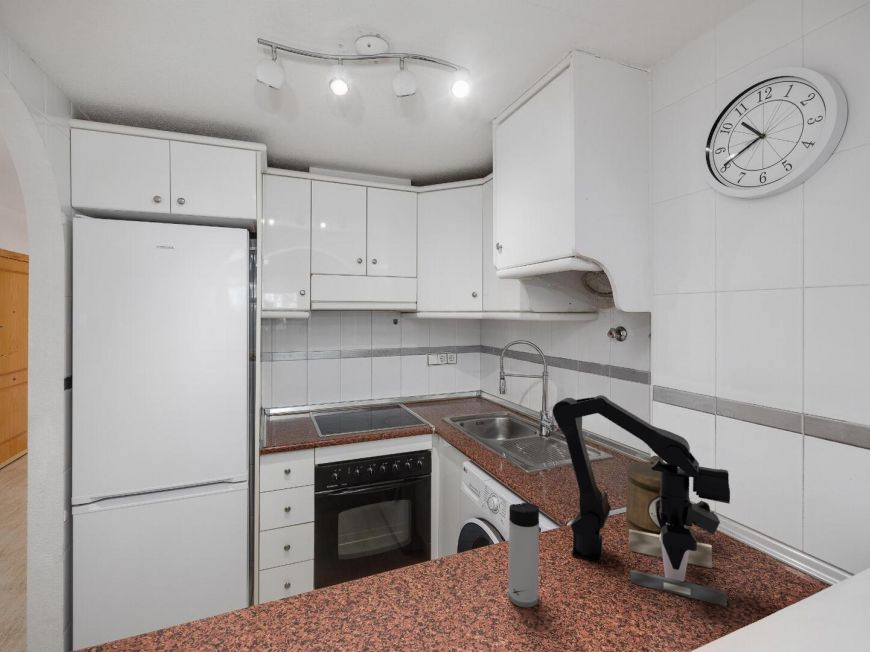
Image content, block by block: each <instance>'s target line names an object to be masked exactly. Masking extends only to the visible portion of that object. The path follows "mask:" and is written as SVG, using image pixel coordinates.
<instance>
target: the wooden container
mask: <svg viewBox="0 0 870 652" xmlns="http://www.w3.org/2000/svg"><path fill="white" fill-rule="evenodd" d="M659 458H660V457H659V456H658V455H653V456H650V457H649V461H634V462H630V463H629V464H628V466H627V489H626V507H625V508H626V509H625V511H626V515H625V517H626V518H625V521H626V523H625V528H626V532H627V533H628V534H629V529H631V530H636V531H641V532H646V533H651V534H657V535H660V533H661V528H660V525H659V522H658V519H657V514H656V510H655V507H656V502H657V501H658V500H659V499H660V495H659V490H660V480H661V472H660V471H654V470H652V469H651V467H652V464H653V463H655V462H657V461H658V459H659ZM660 459H661V458H660ZM662 461H663V462H664V460H663V459H662ZM684 528H686V529H688V526H686V525H684Z"/></svg>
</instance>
